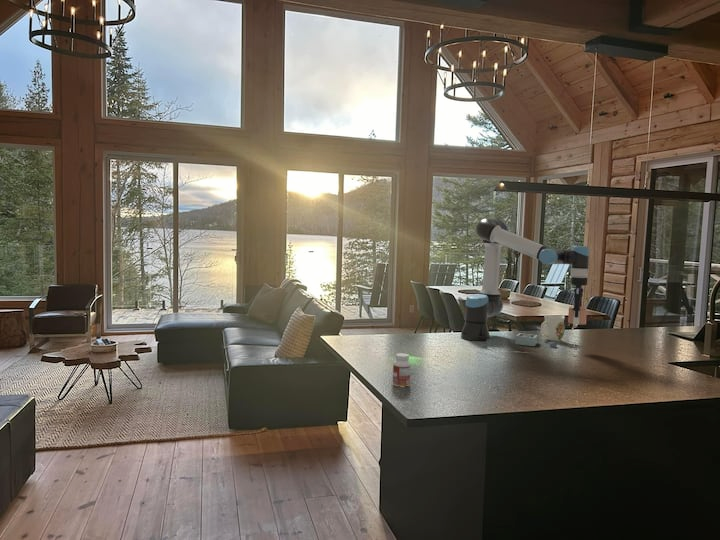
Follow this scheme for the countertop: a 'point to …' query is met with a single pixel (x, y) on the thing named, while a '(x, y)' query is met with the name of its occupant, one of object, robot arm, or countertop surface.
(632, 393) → the countertop surface
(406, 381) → the pill bottle
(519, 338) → the crate
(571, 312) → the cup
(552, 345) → the ball
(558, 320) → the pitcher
